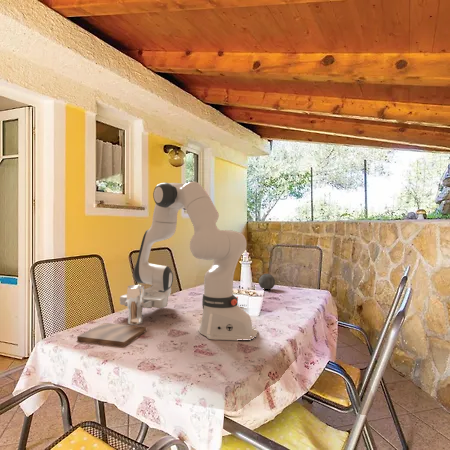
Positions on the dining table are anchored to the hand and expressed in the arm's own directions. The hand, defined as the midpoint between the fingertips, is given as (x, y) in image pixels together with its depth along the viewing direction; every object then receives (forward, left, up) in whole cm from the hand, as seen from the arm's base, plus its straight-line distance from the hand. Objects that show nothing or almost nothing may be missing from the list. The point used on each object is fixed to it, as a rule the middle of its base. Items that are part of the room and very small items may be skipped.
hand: (134, 305), depth 137 cm
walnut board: (0, +15, -8) cm, 17 cm away
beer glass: (0, -1, -8) cm, 8 cm away
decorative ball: (-44, -85, -8) cm, 96 cm away
